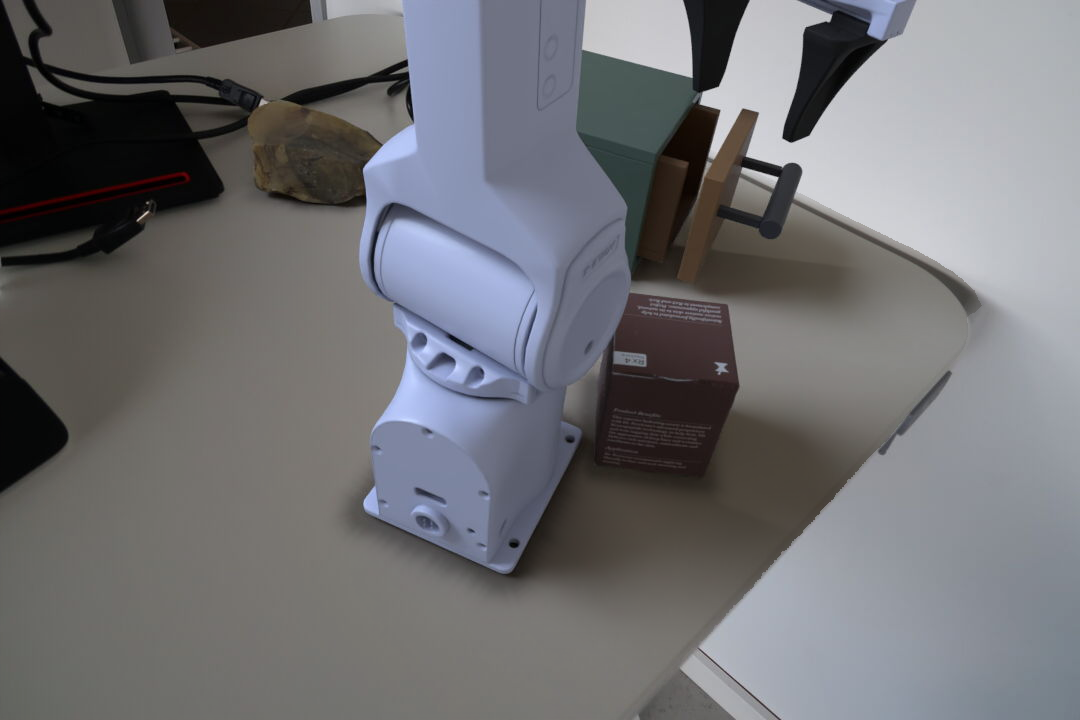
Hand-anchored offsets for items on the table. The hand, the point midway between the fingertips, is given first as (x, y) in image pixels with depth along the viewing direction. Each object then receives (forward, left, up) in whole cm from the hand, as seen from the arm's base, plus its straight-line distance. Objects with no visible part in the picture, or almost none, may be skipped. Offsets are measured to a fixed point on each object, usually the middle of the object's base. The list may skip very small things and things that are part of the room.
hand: (748, 111), depth 48 cm
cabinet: (-2, +10, -10) cm, 15 cm away
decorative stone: (-7, +29, -10) cm, 32 cm away
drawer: (-2, +4, -9) cm, 10 cm away
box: (-20, -2, -10) cm, 23 cm away
